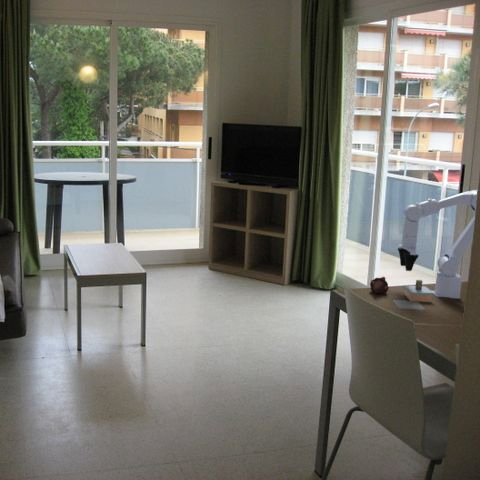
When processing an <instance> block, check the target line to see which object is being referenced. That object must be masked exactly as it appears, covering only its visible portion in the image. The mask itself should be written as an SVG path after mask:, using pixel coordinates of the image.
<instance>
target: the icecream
mask: <svg viewBox="0 0 480 480" xmlns="http://www.w3.org/2000/svg"><path fill="white" fill-rule="evenodd" d="M369 285H370V286H369V287H370V290H371V292H373V293H376V294H380V295H381V294H383V295H385V294H386V293H387V292H388V290H389V283H388V281H387V280H386V277H385V276H382V277H376V278H374V279H372V280H371V281H370V283H369Z"/></svg>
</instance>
